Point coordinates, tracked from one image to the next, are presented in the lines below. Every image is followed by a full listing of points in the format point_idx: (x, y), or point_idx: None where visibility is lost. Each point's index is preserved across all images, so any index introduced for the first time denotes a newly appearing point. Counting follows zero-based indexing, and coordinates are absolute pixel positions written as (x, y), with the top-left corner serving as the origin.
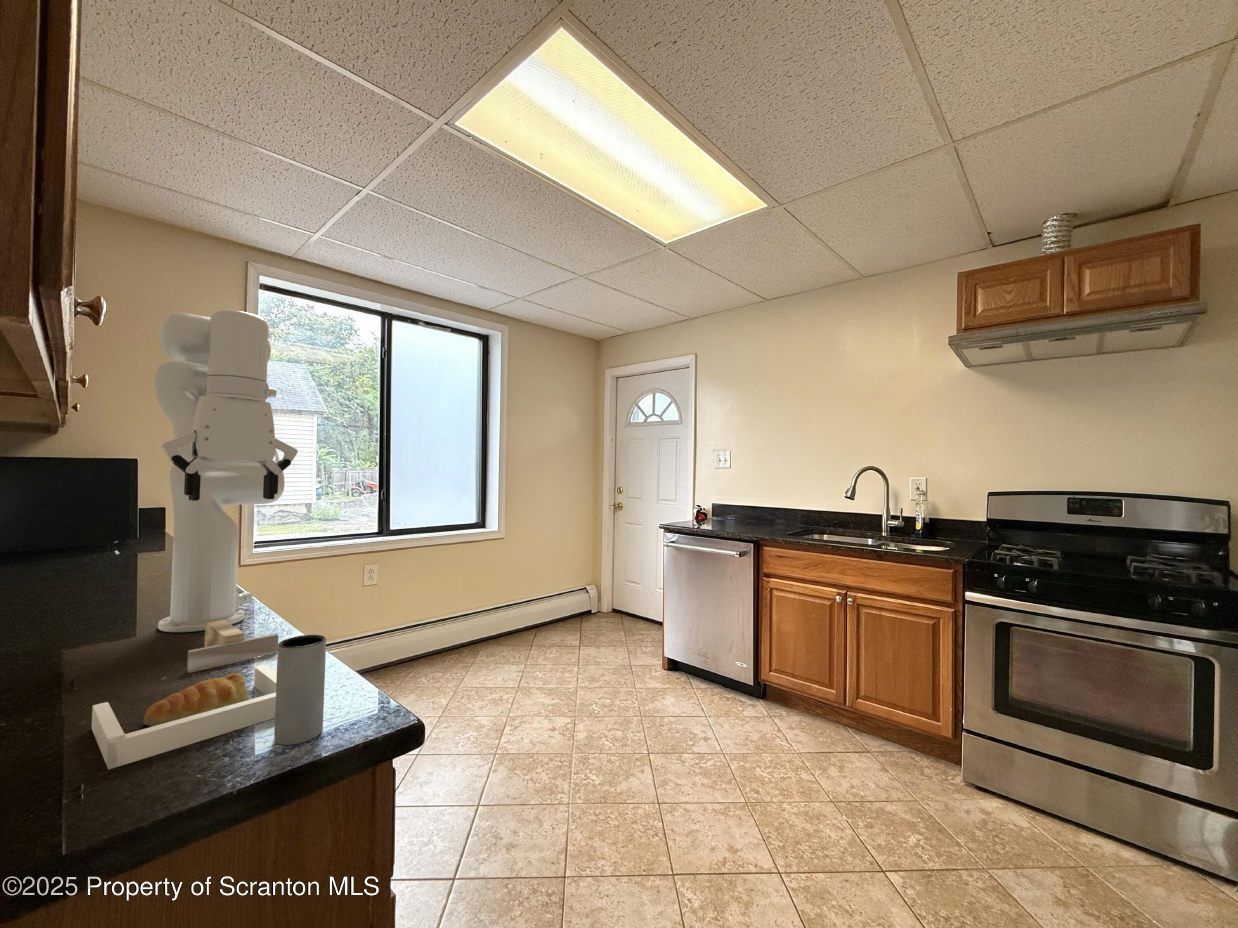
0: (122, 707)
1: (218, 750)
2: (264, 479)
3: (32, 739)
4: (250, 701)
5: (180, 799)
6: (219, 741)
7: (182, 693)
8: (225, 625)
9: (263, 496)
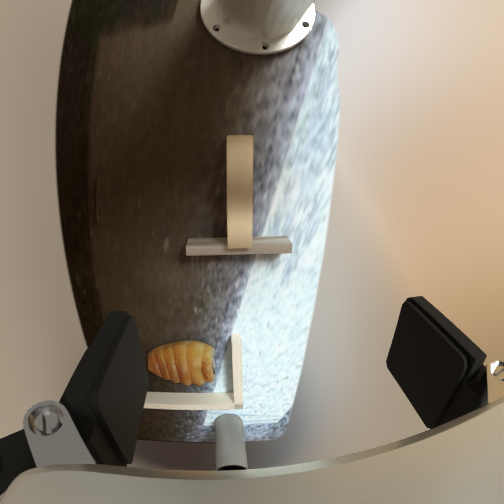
0: (133, 305)
1: (187, 412)
2: (448, 361)
3: (89, 323)
4: (209, 407)
5: (168, 435)
6: None
7: (169, 373)
8: (244, 180)
9: (405, 306)
